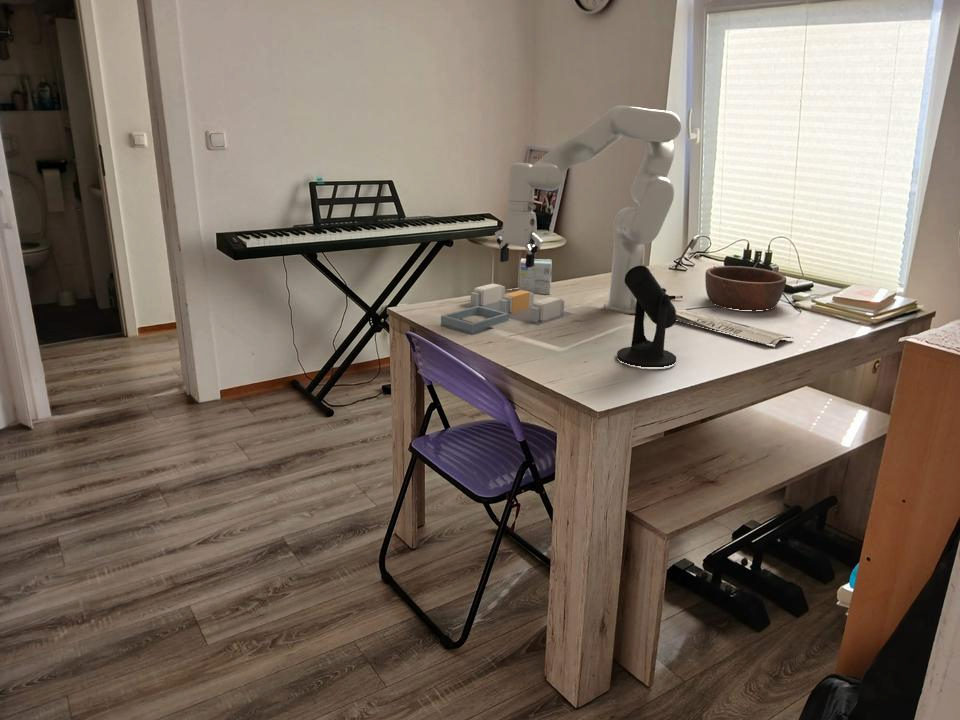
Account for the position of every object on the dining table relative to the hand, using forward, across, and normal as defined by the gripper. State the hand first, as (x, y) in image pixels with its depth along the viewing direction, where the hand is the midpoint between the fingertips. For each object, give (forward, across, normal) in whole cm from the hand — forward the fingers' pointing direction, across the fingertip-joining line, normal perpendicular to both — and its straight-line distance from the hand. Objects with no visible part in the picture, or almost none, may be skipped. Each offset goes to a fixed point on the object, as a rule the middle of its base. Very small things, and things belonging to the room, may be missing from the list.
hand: (516, 264), depth 231 cm
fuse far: (+14, +11, -1) cm, 18 cm away
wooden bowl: (+14, -46, -63) cm, 79 cm away
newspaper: (+15, -54, -30) cm, 64 cm away
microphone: (+15, -52, +10) cm, 55 cm away
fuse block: (+15, 0, -1) cm, 15 cm away
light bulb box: (+15, +12, -26) cm, 32 cm away
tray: (+15, 0, +18) cm, 24 cm away
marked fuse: (+14, 0, -1) cm, 14 cm away
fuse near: (+14, -12, -1) cm, 18 cm away
